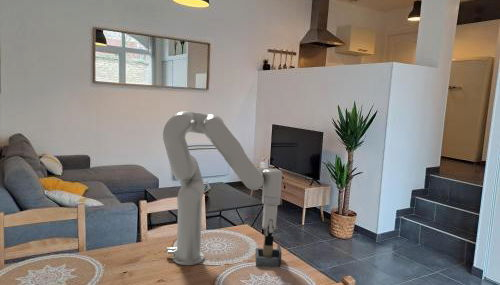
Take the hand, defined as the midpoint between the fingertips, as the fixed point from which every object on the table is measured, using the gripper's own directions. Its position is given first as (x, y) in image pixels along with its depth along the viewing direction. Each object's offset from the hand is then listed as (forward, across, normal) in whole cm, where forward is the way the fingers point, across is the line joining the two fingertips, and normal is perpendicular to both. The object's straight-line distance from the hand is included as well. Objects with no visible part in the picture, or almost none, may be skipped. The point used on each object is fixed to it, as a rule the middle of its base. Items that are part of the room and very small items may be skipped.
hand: (268, 242), depth 145 cm
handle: (+8, 0, 0) cm, 8 cm away
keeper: (+8, 0, 0) cm, 8 cm away
